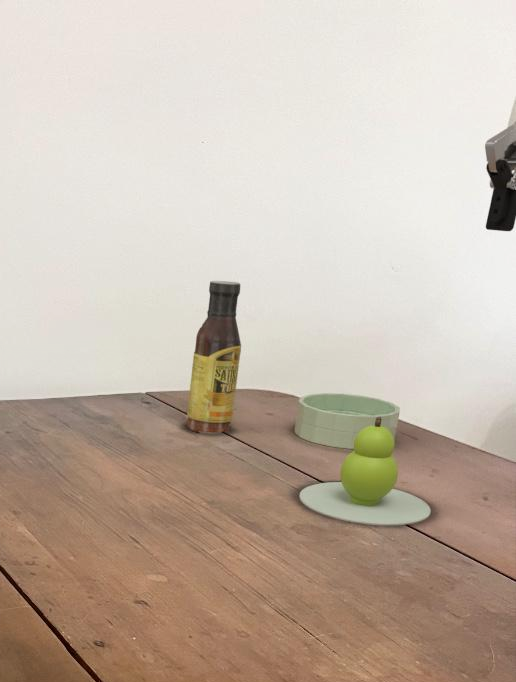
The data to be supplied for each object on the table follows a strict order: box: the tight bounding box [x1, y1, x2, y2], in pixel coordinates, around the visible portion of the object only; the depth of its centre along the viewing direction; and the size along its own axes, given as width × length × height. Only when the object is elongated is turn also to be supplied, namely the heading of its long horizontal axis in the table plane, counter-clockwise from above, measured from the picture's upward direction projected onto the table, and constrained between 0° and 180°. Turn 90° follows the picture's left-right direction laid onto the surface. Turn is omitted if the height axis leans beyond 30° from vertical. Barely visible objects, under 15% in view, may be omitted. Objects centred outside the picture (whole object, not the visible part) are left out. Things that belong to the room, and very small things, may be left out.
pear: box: [339, 417, 399, 506], centre depth 100 cm, size 6×6×10 cm
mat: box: [299, 481, 432, 526], centre depth 102 cm, size 14×14×1 cm
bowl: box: [293, 392, 401, 450], centre depth 126 cm, size 13×13×5 cm
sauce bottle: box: [186, 280, 242, 434], centre depth 125 cm, size 6×6×20 cm
